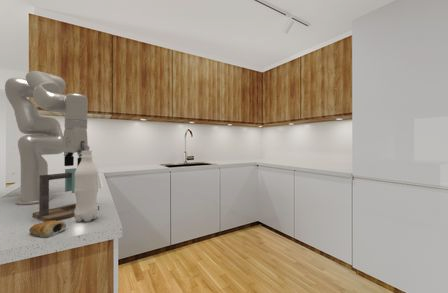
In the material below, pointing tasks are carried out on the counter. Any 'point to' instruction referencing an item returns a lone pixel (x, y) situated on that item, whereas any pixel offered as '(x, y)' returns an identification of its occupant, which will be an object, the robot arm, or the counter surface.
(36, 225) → the pastry
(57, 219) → the hook shelf
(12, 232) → the counter surface
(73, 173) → the teal rectangular block
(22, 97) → the robot arm
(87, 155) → the water bottle
